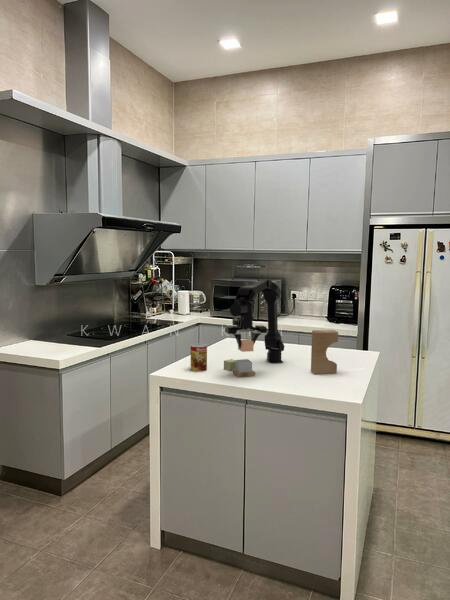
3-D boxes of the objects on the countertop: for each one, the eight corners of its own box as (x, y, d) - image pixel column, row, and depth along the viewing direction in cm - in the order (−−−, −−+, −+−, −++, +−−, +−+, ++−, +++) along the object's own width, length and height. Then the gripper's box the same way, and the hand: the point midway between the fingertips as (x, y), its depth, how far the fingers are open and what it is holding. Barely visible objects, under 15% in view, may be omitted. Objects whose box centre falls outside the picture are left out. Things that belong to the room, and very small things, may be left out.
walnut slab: (248, 373, 210) (248, 367, 210) (254, 377, 202) (254, 372, 202) (232, 374, 208) (232, 369, 207) (238, 378, 200) (238, 373, 200)
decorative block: (332, 370, 214) (333, 329, 212) (337, 373, 208) (338, 331, 206) (310, 371, 212) (311, 330, 210) (314, 374, 207) (315, 332, 205)
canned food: (200, 372, 208) (200, 347, 206) (187, 370, 212) (187, 345, 210) (210, 369, 214) (210, 344, 213) (196, 366, 218) (196, 342, 217)
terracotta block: (249, 348, 207) (249, 339, 207) (253, 351, 202) (253, 341, 202) (238, 349, 206) (238, 339, 205) (242, 351, 200) (242, 341, 200)
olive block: (231, 368, 217) (231, 359, 217) (238, 370, 213) (238, 361, 213) (223, 369, 214) (223, 360, 213) (230, 371, 210) (230, 362, 210)
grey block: (247, 368, 208) (247, 359, 208) (252, 371, 203) (252, 362, 202) (235, 369, 207) (235, 359, 206) (239, 372, 201) (239, 363, 201)
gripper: (259, 312, 213) (258, 344, 214) (221, 312, 207) (221, 345, 209) (268, 314, 202) (267, 348, 204) (229, 315, 197) (228, 350, 198)
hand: (245, 348), depth 204 cm, fingers closed on terracotta block, 5 cm apart
